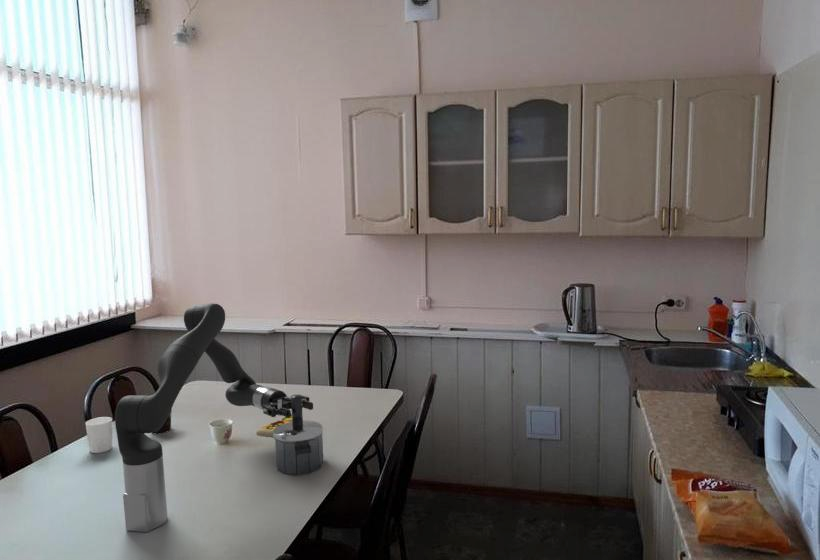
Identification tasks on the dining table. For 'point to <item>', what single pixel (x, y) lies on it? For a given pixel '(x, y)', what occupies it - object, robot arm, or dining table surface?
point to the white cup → (99, 434)
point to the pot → (299, 457)
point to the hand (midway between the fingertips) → (301, 410)
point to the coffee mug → (165, 425)
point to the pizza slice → (272, 427)
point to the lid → (297, 426)
